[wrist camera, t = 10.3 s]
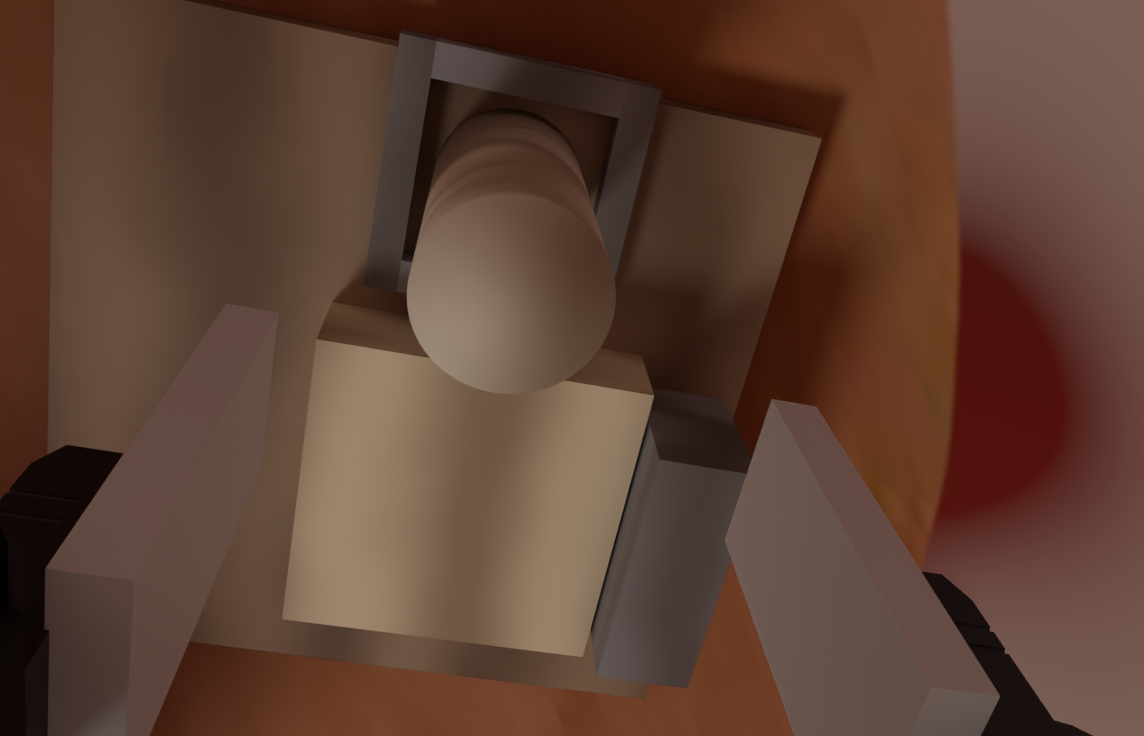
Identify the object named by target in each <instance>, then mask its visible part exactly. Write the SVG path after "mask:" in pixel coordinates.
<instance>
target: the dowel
mask: <svg viewBox="0 0 1144 736" xmlns="http://www.w3.org/2000/svg"><path fill="white" fill-rule="evenodd" d="M615 303H616V290H615V280H614V276H613V272H612V268H611V265H610V262H609V258H608V255H607V252H606V249H605V246H604V242H603V239H602V236H601V233H600V230H599V226H598V223H597V220H596V217H595V214H594V210H593V207H592V204H591V201H590V198H589V195H588V191H587V188H586V185H585V182H584V179H583V175H582V172H581V169H580V166H579V163H578V159H577V157H576V154H575V152H574V150H573V148H572V146H571V144H570V142H569V141H568V140H567V138H566V137H565V136H564V134H563V133H562V132H561V131H560V130H559V129H558V128H557V127H556V126H555V125H553V124H552V123H551V122H549V121H548V120H546V119H545V118H543V117H541V116H539V115H537V114H534V113H532V112H529V111H525V110H521V109H514V108H500V109H492V110H488V111H484V112H482V113H479V114H477V115H474V116H472V117H471V118H469V119H467V120H466V121H464V122H463V123H462V124H460V125H459V126H458V127H457V128H456V129H455V130H454V131H453V132H452V133H451V134H450V135H449V137H448V138H447V139H446V141H445V143H444V144H443V146H442V148H441V150H440V152H439V155H438V158H437V161H436V165H435V170H434V174H433V178H432V182H431V186H430V190H429V195H428V199H427V203H426V207H425V211H424V216H423V220H422V224H421V228H420V232H419V236H418V241H417V245H416V249H415V253H414V257H413V262H412V266H411V270H410V274H409V278H408V285H407V308H408V314H409V319H410V322H411V325H412V328H413V331H414V333H415V335H416V337H417V339H418V341H419V343H420V345H421V346H422V348H423V349H424V351H425V352H426V354H427V355H428V356H429V357H430V358H431V359H432V360H433V362H434V363H435V364H436V365H437V366H439V367H440V368H441V369H442V370H443V371H444V372H446V373H447V374H449V375H450V376H452V377H453V378H455V379H456V380H458V381H460V382H462V383H464V384H466V385H468V386H471V387H474V388H477V389H479V390H483V391H488V392H492V393H500V394H522V393H530V392H535V391H539V390H543V389H546V388H549V387H551V386H554V385H557V384H559V383H560V382H562V381H564V380H566V379H568V378H570V377H571V376H572V375H574V374H575V373H577V372H578V371H579V370H581V369H582V368H583V367H584V366H585V365H586V364H587V363H588V362H589V361H590V360H591V359H592V358H593V356H594V355H595V354H596V353H597V352H598V350H599V349H600V347H601V345H602V344H603V342H604V340H605V338H606V336H607V334H608V332H609V330H610V327H611V324H612V321H613V317H614V311H615Z"/></svg>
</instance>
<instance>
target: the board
mask: <svg viewBox="0 0 1144 736" xmlns="http://www.w3.org/2000/svg"><path fill="white" fill-rule="evenodd" d="M661 92H662V90H661V89H660V88H659V87H658V85H655V84H651V83H646V82H642V81H637V80H633V79H628V78H624V77H619V76H614V75H610V74H605V73H601V72H596V71H592V70H587V69H583V68H578V67H574V66H569V65H564V64H560V63H555V62H551V61H546V60H542V59H537V58H533V57H528V56H523V55H519V54H514V53H510V52H505V51H501V50H496V49H492V48H487V47H483V46H478V45H473V44H469V43H464V42H460V41H455V40H451V39H446V38H442V37H437V36H432V35H428V34H423V33H419V32H414V31H410V30H405V29H403V30H402V31H401V33H400V37H399V41H397V40H393V39H388V38H383V37H379V36H374V35H370V34H365V33H360V32H356V31H351V30H347V29H342V28H337V27H333V26H328V25H324V24H319V23H314V22H310V21H305V20H301V19H296V18H292V17H287V16H282V15H278V14H273V13H269V12H264V11H259V10H255V9H250V8H246V7H241V6H236V5H232V4H227V3H223V2H218V1H214V0H54V52H53V117H52V183H51V248H50V313H49V378H48V443H47V455H48V454H50V453H52V452H54V451H56V450H58V449H60V448H62V447H63V446H65V445H72V446H79V447H85V448H92V449H99V450H105V451H112V452H118V453H125V451H126V450H127V448H128V447H129V445H130V444H131V442H132V441H133V439H134V438H135V436H136V435H137V433H138V432H139V431H140V429H141V428H142V426H143V425H144V423H145V422H146V420H147V419H148V417H149V416H150V414H151V413H152V411H153V410H154V409H155V407H156V406H157V404H158V403H159V401H160V400H161V398H162V397H163V395H164V394H165V392H166V391H167V389H168V388H169V387H170V385H171V384H172V382H173V381H174V379H175V378H176V376H177V375H178V373H179V372H180V370H181V369H182V367H183V366H184V365H185V363H186V362H187V360H188V359H189V357H190V356H191V354H192V353H193V351H194V350H195V348H196V347H197V345H198V344H199V343H200V341H201V340H202V338H203V337H204V335H205V334H206V332H207V331H208V329H209V328H210V326H211V325H212V323H213V322H214V321H215V319H216V318H217V316H218V315H219V313H220V312H221V310H222V309H223V307H224V306H225V304H226V303H227V304H233V305H239V306H244V307H250V308H256V309H262V310H267V311H273V312H279V314H278V323H277V332H276V341H275V350H274V359H273V368H272V377H271V386H270V395H269V404H268V412H267V421H266V430H265V439H264V448H263V457H262V466H261V471H260V474H259V476H258V479H257V481H256V483H255V486H254V488H253V490H252V493H251V495H250V498H249V500H248V502H247V505H246V507H245V510H244V512H243V514H242V517H241V519H240V521H239V524H238V526H237V529H236V531H235V533H234V536H233V538H232V541H231V543H230V545H229V548H228V550H227V553H226V555H225V557H224V560H223V562H222V564H221V567H220V569H219V572H218V574H217V576H216V579H215V581H214V584H213V586H212V588H211V591H210V593H209V595H208V598H207V600H206V603H205V605H204V607H203V610H202V612H201V615H200V617H199V619H198V622H197V624H196V626H195V629H194V631H193V634H192V636H191V638H190V641H189V642H196V643H203V644H211V645H219V646H227V647H235V648H243V649H251V650H259V651H267V652H275V653H283V654H291V655H299V656H307V657H315V658H323V659H331V660H339V661H347V662H354V663H362V664H370V665H378V666H386V667H394V668H402V669H410V670H418V671H426V672H434V673H442V674H450V675H458V676H466V677H474V678H482V679H490V680H498V681H505V682H513V683H521V684H529V685H537V686H545V687H553V688H561V689H569V690H577V691H585V692H593V693H601V694H609V695H617V696H625V697H633V698H641V699H644V698H645V694H646V691H647V688H648V685H649V683H651V684H658V685H666V686H674V687H682V688H688V685H689V682H690V679H691V676H692V673H693V670H694V667H695V664H696V661H697V658H698V655H699V652H700V649H701V647H702V644H703V641H704V638H705V635H706V632H707V629H708V626H709V623H710V620H711V617H712V614H713V611H714V608H715V605H716V602H717V599H718V596H719V593H720V590H721V587H722V584H723V581H724V578H725V575H726V573H727V570H728V567H729V564H730V561H731V557H730V554H729V551H728V548H727V546H726V543H725V538H726V535H727V532H728V529H729V526H730V523H731V520H732V517H733V514H734V511H735V508H736V505H737V502H738V499H739V496H740V493H741V490H742V487H743V484H744V481H745V478H746V475H747V472H748V469H749V466H750V463H751V460H752V459H751V457H750V455H749V453H748V450H747V448H746V446H745V444H744V442H743V440H742V437H741V435H740V433H739V431H738V429H737V426H736V424H735V422H734V420H733V418H734V414H735V411H736V408H737V405H738V402H739V399H740V396H741V392H742V389H743V386H744V383H745V380H746V377H747V374H748V370H749V367H750V364H751V361H752V358H753V355H754V351H755V348H756V345H757V342H758V339H759V336H760V333H761V329H762V326H763V323H764V320H765V317H766V314H767V311H768V307H769V304H770V301H771V298H772V295H773V292H774V289H775V285H776V282H777V279H778V276H779V273H780V270H781V267H782V263H783V260H784V257H785V254H786V251H787V248H788V245H789V241H790V238H791V235H792V232H793V229H794V226H795V222H796V219H797V216H798V213H799V210H800V207H801V204H802V200H803V197H804V194H805V191H806V188H807V185H808V182H809V178H810V175H811V172H812V169H813V166H814V163H815V160H816V156H817V153H818V150H819V147H820V144H821V141H822V138H820V137H819V136H818V135H816V134H815V133H813V132H812V131H810V130H806V129H801V128H796V127H792V126H787V125H783V124H778V123H773V122H769V121H764V120H760V119H755V118H750V117H746V116H741V115H737V114H732V113H728V112H723V111H718V110H714V109H709V108H705V107H700V106H695V105H691V104H686V103H682V102H677V101H672V100H668V99H663V98H660V96H661ZM500 108H514V109H521V110H525V111H529V112H532V113H534V114H537V115H539V116H541V117H543V118H545V119H546V120H548V121H549V122H551V123H552V124H553V125H555V126H556V127H557V128H558V129H559V130H560V131H561V132H562V133H563V134H564V136H565V137H566V138H567V140H568V141H569V142H570V144H571V146H572V148H573V150H574V152H575V154H576V157H577V159H578V163H579V166H580V169H581V172H582V175H583V179H584V182H585V185H586V188H587V191H588V195H589V198H590V201H591V204H592V207H593V210H594V214H595V217H596V220H597V223H598V226H599V230H600V233H601V236H602V239H603V242H604V246H605V249H606V252H607V255H608V258H609V262H610V265H611V268H612V272H613V276H614V280H615V290H616V303H615V311H614V317H613V321H612V324H611V327H610V330H609V332H608V334H607V336H606V338H605V340H604V342H603V344H602V345H601V347H600V348H602V349H608V350H614V351H620V352H625V353H631V354H637V355H642V359H643V362H644V365H645V368H646V371H647V374H648V377H649V380H650V384H651V387H652V390H653V393H654V399H653V402H652V406H651V410H650V413H649V417H648V421H647V424H646V428H645V432H644V435H643V439H642V443H641V446H640V450H639V453H638V457H637V461H636V464H635V468H634V472H633V475H632V479H631V483H630V486H629V490H628V494H627V497H626V501H625V505H624V508H623V512H622V516H621V519H620V523H619V527H618V530H617V534H616V538H615V541H614V545H613V549H612V552H611V556H610V559H609V563H608V567H607V570H606V574H605V578H604V581H603V585H602V589H601V592H600V596H599V600H598V603H597V607H596V611H595V614H594V618H593V622H592V625H591V629H590V633H589V636H588V640H587V644H586V647H585V651H584V654H583V657H578V656H570V655H562V654H554V653H546V652H538V651H530V650H522V649H514V648H506V647H498V646H491V645H483V644H475V643H467V642H459V641H451V640H443V639H435V638H427V637H419V636H411V635H403V634H395V633H387V632H380V631H372V630H364V629H356V628H348V627H340V626H332V625H324V624H316V623H308V622H300V621H292V620H284V619H282V615H283V607H284V599H285V591H286V583H287V574H288V566H289V558H290V550H291V542H292V534H293V526H294V517H295V509H296V501H297V493H298V485H299V477H300V469H301V460H302V452H303V444H304V436H305V428H306V420H307V412H308V403H309V395H310V387H311V379H312V371H313V363H314V354H315V346H316V339H317V337H318V334H319V332H320V329H321V327H322V325H323V322H324V320H325V317H326V315H327V313H328V310H329V308H330V305H331V303H332V302H335V303H341V304H347V305H353V306H359V307H364V308H370V309H376V310H382V311H388V312H393V313H399V314H405V315H409V314H408V308H407V285H408V278H409V274H410V270H411V266H412V262H413V257H414V253H415V249H416V245H417V241H418V236H419V232H420V228H421V224H422V220H423V216H424V211H425V207H426V203H427V199H428V195H429V190H430V186H431V182H432V178H433V174H434V170H435V165H436V161H437V158H438V155H439V152H440V150H441V148H442V146H443V144H444V143H445V141H446V139H447V138H448V137H449V135H450V134H451V133H452V132H453V131H454V130H455V129H456V128H457V127H458V126H459V125H460V124H462V123H463V122H464V121H466V120H467V119H469V118H471V117H472V116H474V115H477V114H479V113H482V112H484V111H488V110H492V109H500Z"/></svg>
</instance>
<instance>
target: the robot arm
mask: <svg viewBox="0 0 1144 736" xmlns="http://www.w3.org/2000/svg"><path fill="white" fill-rule="evenodd" d="M278 314H279V312H273V311H267V310H262V309H256V308H250V307H244V306H239V305H233V304H227V303H226V304H225V306H224V307H223V309H222V310H221V312H220V313H219V315H218V316H217V318H216V319H215V321H214V322H213V323H212V325H211V326H210V328H209V329H208V331H207V332H206V334H205V335H204V337H203V338H202V340H201V341H200V343H199V344H198V345H197V347H196V348H195V350H194V351H193V353H192V354H191V356H190V357H189V359H188V360H187V362H186V363H185V365H184V366H183V367H182V369H181V370H180V372H179V373H178V375H177V376H176V378H175V379H174V381H173V382H172V384H171V385H170V387H169V388H168V389H167V391H166V392H165V394H164V395H163V397H162V398H161V400H160V401H159V403H158V404H157V406H156V407H155V409H154V410H153V411H152V413H151V414H150V416H149V417H148V419H147V420H146V422H145V423H144V425H143V426H142V428H141V429H140V431H139V432H138V433H137V435H136V436H135V438H134V439H133V441H132V442H131V444H130V445H129V447H128V448H127V450H126V451H125V453H118V452H112V451H105V450H99V449H92V448H85V447H79V446H72V445H65V446H63V447H62V448H60V449H58V450H56V451H54V452H52V453H50V454H48V455H46V456H44V457H42V458H40V459H38V460H37V461H35V462H33V463H31V464H30V465H29V466H28V467H27V469H26V470H25V471H24V472H23V473H22V475H21V476H20V477H19V478H18V479H17V481H16V482H15V483H14V484H13V485H12V487H11V488H10V491H9V494H8V493H6V494H5V495H4V496H3V497H2V499H1V500H0V736H150V734H151V731H152V729H153V727H154V724H155V722H156V720H157V717H158V715H159V712H160V710H161V708H162V705H163V703H164V700H165V698H166V696H167V693H168V691H169V689H170V686H171V684H172V681H173V679H174V677H175V674H176V672H177V669H178V667H179V665H180V662H181V660H182V658H183V655H184V653H185V650H186V648H187V646H188V643H189V641H190V638H191V636H192V634H193V631H194V629H195V626H196V624H197V622H198V619H199V617H200V615H201V612H202V610H203V607H204V605H205V603H206V600H207V598H208V595H209V593H210V591H211V588H212V586H213V584H214V581H215V579H216V576H217V574H218V572H219V569H220V567H221V564H222V562H223V560H224V557H225V555H226V553H227V550H228V548H229V545H230V543H231V541H232V538H233V536H234V533H235V531H236V529H237V526H238V524H239V521H240V519H241V517H242V514H243V512H244V510H245V507H246V505H247V502H248V500H249V498H250V495H251V493H252V490H253V488H254V486H255V483H256V481H257V479H258V476H259V474H260V471H261V466H262V457H263V448H264V439H265V430H266V421H267V412H268V404H269V395H270V386H271V377H272V368H273V359H274V350H275V341H276V332H277V323H278ZM725 543H726V546H727V548H728V551H729V554H730V557H731V560H732V562H733V565H734V568H735V571H736V574H737V576H738V579H739V582H740V585H741V588H742V590H743V593H744V596H745V599H746V602H747V604H748V607H749V610H750V613H751V616H752V618H753V621H754V624H755V627H756V630H757V632H758V635H759V638H760V641H761V644H762V646H763V649H764V652H765V655H766V658H767V660H768V663H769V666H770V669H771V672H772V674H773V677H774V680H775V683H776V686H777V688H778V691H779V694H780V697H781V700H782V702H783V705H784V708H785V711H786V714H787V716H788V719H789V722H790V725H791V728H792V730H793V733H794V736H1092V735H1090V734H1088V733H1086V732H1084V731H1082V730H1080V729H1078V728H1076V727H1074V726H1072V725H1068V724H1065V723H1061V722H1057V721H1054V720H1053V719H1052V717H1051V715H1050V714H1049V713H1048V711H1047V710H1046V708H1045V707H1044V705H1043V704H1042V703H1041V701H1040V699H1039V698H1038V696H1037V695H1036V693H1035V692H1034V691H1033V689H1032V688H1031V686H1030V685H1029V683H1028V682H1027V680H1026V679H1025V677H1024V676H1023V675H1022V673H1021V672H1020V670H1019V669H1018V667H1017V666H1016V664H1015V663H1014V661H1013V660H1012V658H1011V657H1010V655H1009V654H1005V652H1004V651H1005V648H1004V647H1003V645H1002V644H1001V642H1000V641H999V639H998V638H997V636H996V635H995V633H994V632H990V626H989V625H988V623H987V622H986V620H985V619H984V617H983V616H982V614H981V613H980V611H979V610H978V608H977V607H976V605H975V604H974V603H973V601H972V600H971V599H970V598H969V597H968V596H966V595H965V594H964V593H963V592H962V591H960V590H959V589H958V588H957V587H956V586H954V585H953V584H952V583H951V582H950V581H949V580H948V579H947V578H945V577H944V576H943V575H942V574H934V573H928V572H922V571H920V569H919V567H918V566H917V564H916V563H915V561H914V560H913V558H912V556H911V555H910V553H909V552H908V550H907V549H906V547H905V545H904V544H903V542H902V541H901V539H900V537H899V536H898V534H897V533H896V531H895V530H894V528H893V526H892V525H891V523H890V522H889V520H888V519H887V517H886V515H885V514H884V512H883V511H882V509H881V508H880V506H879V504H878V503H877V501H876V500H875V498H874V497H873V495H872V493H871V492H870V490H869V489H868V487H867V486H866V484H865V482H864V481H863V479H862V478H861V476H860V475H859V473H858V471H857V470H856V468H855V467H854V465H853V464H852V462H851V460H850V459H849V457H848V456H847V454H846V452H845V451H844V449H843V448H842V446H841V445H840V443H839V441H838V440H837V438H836V437H835V435H834V434H833V432H832V430H831V429H830V427H829V426H828V424H827V423H826V421H825V419H824V418H823V416H822V415H821V413H820V412H819V410H818V408H817V407H816V406H810V405H804V404H798V403H793V402H787V401H781V400H776V399H772V400H771V403H770V406H769V409H768V412H767V415H766V418H765V421H764V424H763V427H762V430H761V433H760V436H759V439H758V442H757V445H756V448H755V451H754V454H753V457H752V460H751V463H750V466H749V469H748V472H747V475H746V478H745V481H744V484H743V487H742V490H741V493H740V496H739V499H738V502H737V505H736V508H735V511H734V514H733V517H732V520H731V523H730V526H729V529H728V532H727V535H726V538H725Z"/></svg>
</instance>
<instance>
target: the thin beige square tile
mask: <svg viewBox="0 0 1144 736" xmlns="http://www.w3.org/2000/svg"><path fill="white" fill-rule="evenodd" d="M653 399H654V393H653V390H652V387H651V384H650V380H649V377H648V374H647V371H646V368H645V365H644V362H643V359H642V355H637V354H631V353H625V352H620V351H614V350H608V349H602V348H600V349H599V350H598V352H597V353H596V354H595V355H594V356H593V358H592V359H591V360H590V361H589V362H588V363H587V364H586V365H585V366H584V367H583V368H582V369H581V370H579V371H578V372H577V373H575V374H574V375H572V376H571V377H570V378H568V379H566V380H564V381H562V382H560V383H559V384H557V385H554V386H551V387H549V388H546V389H543V390H539V391H535V392H530V393H522V394H500V393H492V392H488V391H483V390H479V389H477V388H474V387H471V386H468V385H466V384H464V383H462V382H460V381H458V380H456V379H455V378H453V377H452V376H450V375H449V374H447V373H446V372H444V371H443V370H442V369H441V368H440V367H439V366H437V365H436V364H435V363H434V362H433V360H432V359H431V358H430V357H429V356H428V355H427V354H426V352H425V351H424V349H423V348H422V346H421V345H420V343H419V341H418V339H417V337H416V335H415V333H414V331H413V328H412V325H411V322H410V319H409V315H405V314H399V313H393V312H388V311H382V310H376V309H370V308H364V307H359V306H353V305H347V304H341V303H335V302H332V303H331V305H330V308H329V310H328V313H327V315H326V317H325V320H324V322H323V325H322V327H321V329H320V332H319V334H318V337H317V339H316V346H315V354H314V363H313V371H312V379H311V387H310V395H309V403H308V412H307V420H306V428H305V436H304V444H303V452H302V460H301V469H300V477H299V485H298V493H297V501H296V509H295V517H294V526H293V534H292V542H291V550H290V558H289V566H288V574H287V583H286V591H285V599H284V607H283V615H282V619H284V620H292V621H300V622H308V623H316V624H324V625H332V626H340V627H348V628H356V629H364V630H372V631H380V632H387V633H395V634H403V635H411V636H419V637H427V638H435V639H443V640H451V641H459V642H467V643H475V644H483V645H491V646H498V647H506V648H514V649H522V650H530V651H538V652H546V653H554V654H562V655H570V656H578V657H583V654H584V651H585V647H586V644H587V640H588V636H589V633H590V629H591V625H592V622H593V618H594V614H595V611H596V607H597V603H598V600H599V596H600V592H601V589H602V585H603V581H604V578H605V574H606V570H607V567H608V563H609V559H610V556H611V552H612V549H613V545H614V541H615V538H616V534H617V530H618V527H619V523H620V519H621V516H622V512H623V508H624V505H625V501H626V497H627V494H628V490H629V486H630V483H631V479H632V475H633V472H634V468H635V464H636V461H637V457H638V453H639V450H640V446H641V443H642V439H643V435H644V432H645V428H646V424H647V421H648V417H649V413H650V410H651V406H652V402H653Z"/></svg>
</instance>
